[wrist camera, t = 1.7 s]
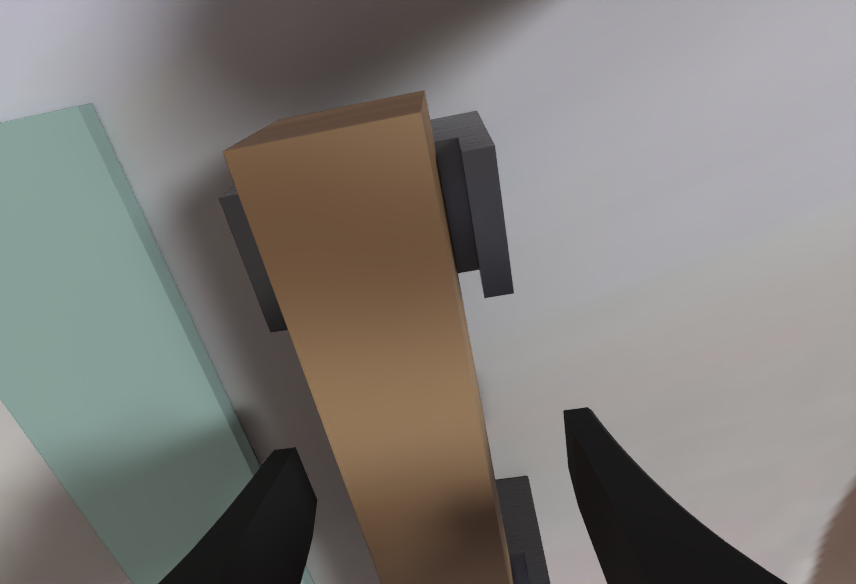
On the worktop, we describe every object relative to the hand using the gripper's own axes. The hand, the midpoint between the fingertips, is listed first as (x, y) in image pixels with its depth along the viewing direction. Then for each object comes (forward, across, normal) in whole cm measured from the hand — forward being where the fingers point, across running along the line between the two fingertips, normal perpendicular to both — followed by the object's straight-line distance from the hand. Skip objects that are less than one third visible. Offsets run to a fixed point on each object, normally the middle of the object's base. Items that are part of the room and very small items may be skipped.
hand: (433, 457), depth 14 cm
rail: (+1, 0, 0) cm, 1 cm away
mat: (+4, +10, +1) cm, 11 cm away
